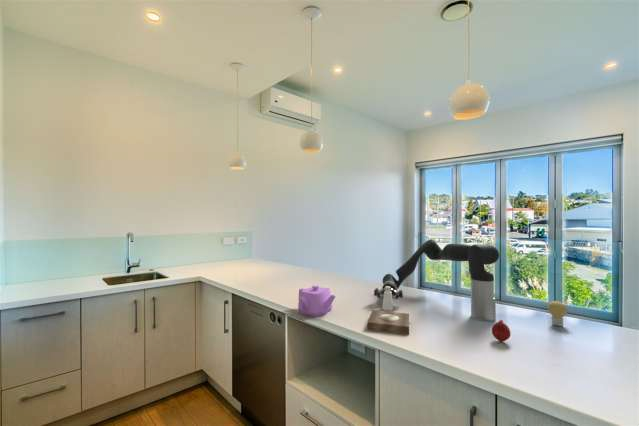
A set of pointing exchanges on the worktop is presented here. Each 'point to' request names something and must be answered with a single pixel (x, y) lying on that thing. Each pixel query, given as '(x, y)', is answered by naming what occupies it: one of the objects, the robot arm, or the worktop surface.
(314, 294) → the teakettle
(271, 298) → the worktop surface
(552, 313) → the light bulb
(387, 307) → the pepper shaker
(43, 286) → the worktop surface
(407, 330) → the walnut plinth
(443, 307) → the worktop surface
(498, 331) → the onion
